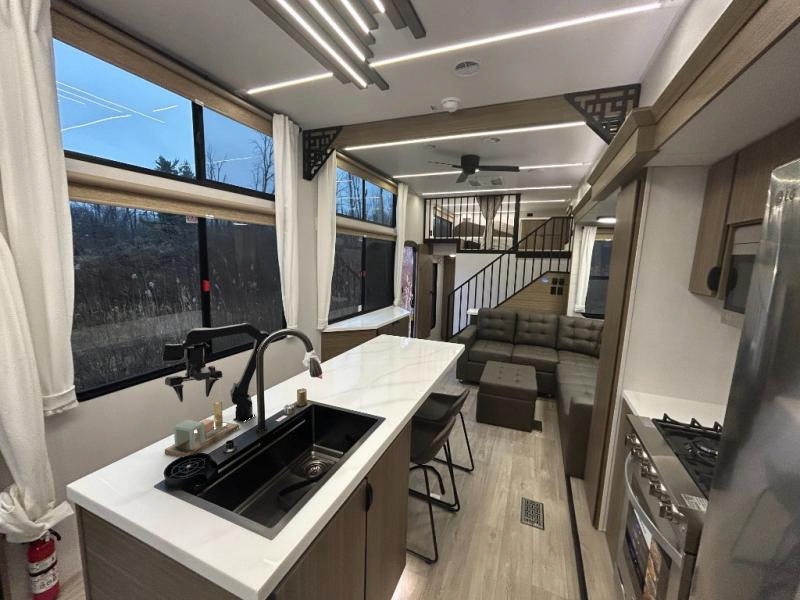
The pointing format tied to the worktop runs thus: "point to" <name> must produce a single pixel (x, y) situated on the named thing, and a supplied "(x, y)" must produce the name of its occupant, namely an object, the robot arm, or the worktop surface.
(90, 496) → the worktop surface
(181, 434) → the tunnel
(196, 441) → the track board
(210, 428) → the terracotta block
